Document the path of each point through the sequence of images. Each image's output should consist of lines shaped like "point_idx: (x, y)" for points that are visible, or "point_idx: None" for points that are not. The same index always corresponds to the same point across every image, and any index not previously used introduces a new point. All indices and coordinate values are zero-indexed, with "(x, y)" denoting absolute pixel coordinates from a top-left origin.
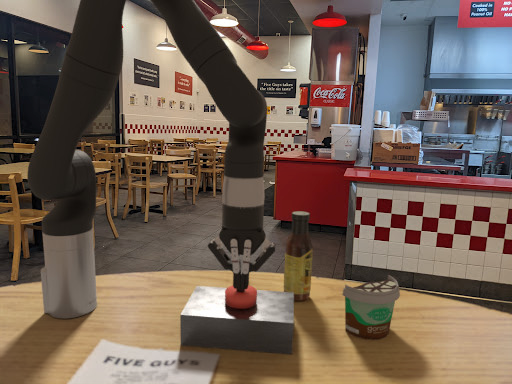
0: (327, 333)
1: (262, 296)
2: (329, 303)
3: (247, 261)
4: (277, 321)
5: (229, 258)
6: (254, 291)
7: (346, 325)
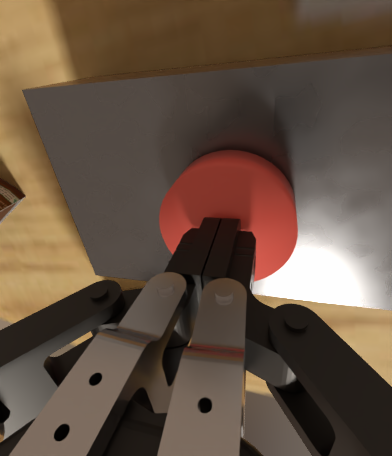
0: (52, 184)
1: (169, 251)
2: (83, 286)
3: (112, 336)
4: (71, 88)
5: (281, 402)
6: (170, 234)
7: (12, 200)
